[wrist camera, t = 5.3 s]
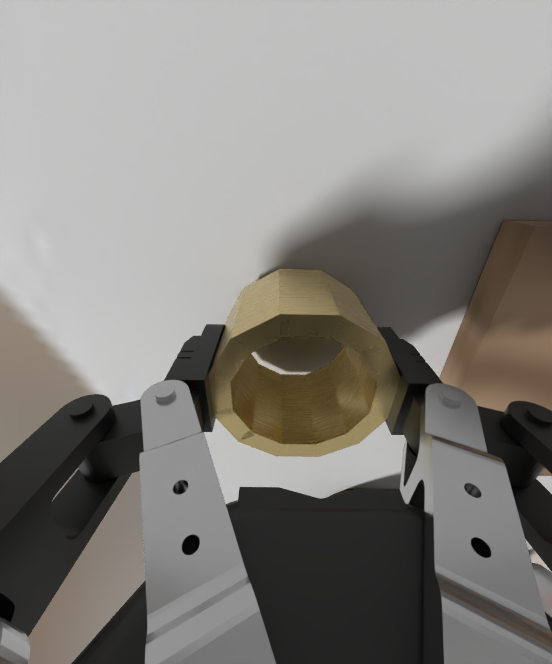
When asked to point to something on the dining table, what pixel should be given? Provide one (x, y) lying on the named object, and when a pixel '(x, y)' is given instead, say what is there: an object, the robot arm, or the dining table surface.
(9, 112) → the dining table surface
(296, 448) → the brass ring
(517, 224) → the walnut base plate
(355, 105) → the dining table surface
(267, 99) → the dining table surface
